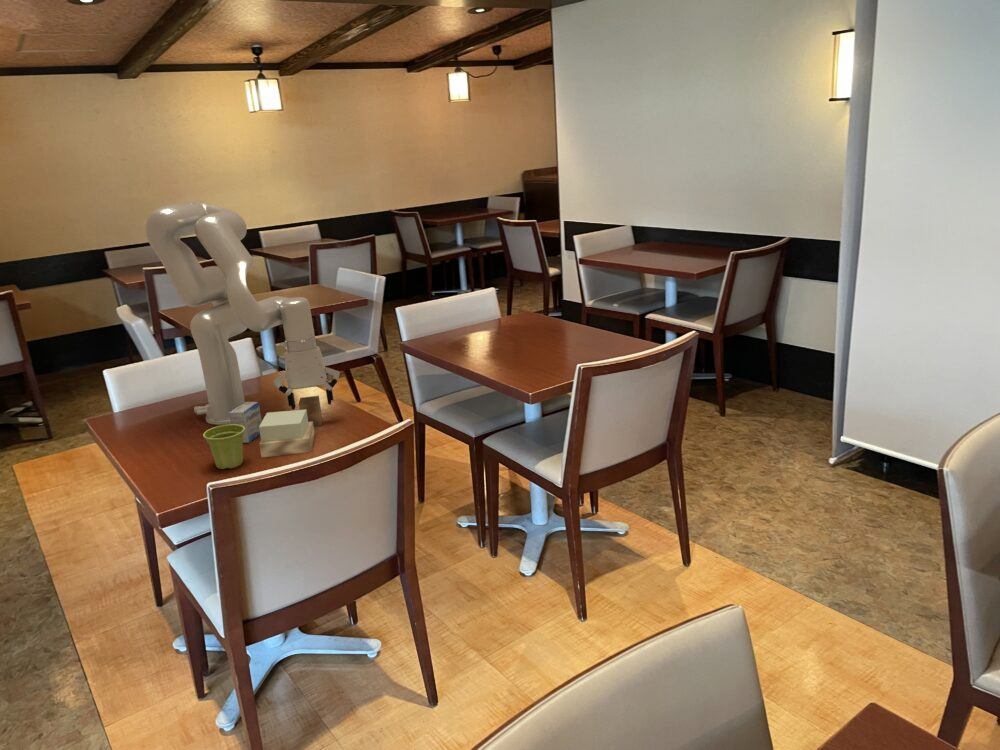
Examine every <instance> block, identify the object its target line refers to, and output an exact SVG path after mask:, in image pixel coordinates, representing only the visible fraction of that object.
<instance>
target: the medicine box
mask: <svg viewBox="0 0 1000 750" xmlns="http://www.w3.org/2000/svg"><path fill="white" fill-rule="evenodd" d="M229 418H230V423H231V424H238V425H242V426H244V427H245V431H244V432H243V444H249V443H252V442H253V441H254V440H255V439H256V438H258V437H260V431H259V426H260V424H261V422H262V421H263V418H262V413H261V408H260V403H259V402H258V401H245V402H244V403H243V404H241V405H240V406H238V407H237V408H235V409H234V410H232V411H231V412H229ZM252 440H253V441H252Z"/></svg>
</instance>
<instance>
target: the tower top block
mask: <svg viewBox="0 0 1000 750" xmlns="http://www.w3.org/2000/svg"><path fill="white" fill-rule="evenodd" d="M308 424H309V423H308V417H307V410H306V409H305V410H300V409H294V410H283V411H271V412H266V413H265V416H264V417H263V418H262V422H261V424H260V426H259V431H260V435H259V437H260V441H261V442H268V441H279V440H290V439H301V438H303V436H304V434H305V431H306V429H307V426H308Z"/></svg>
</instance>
